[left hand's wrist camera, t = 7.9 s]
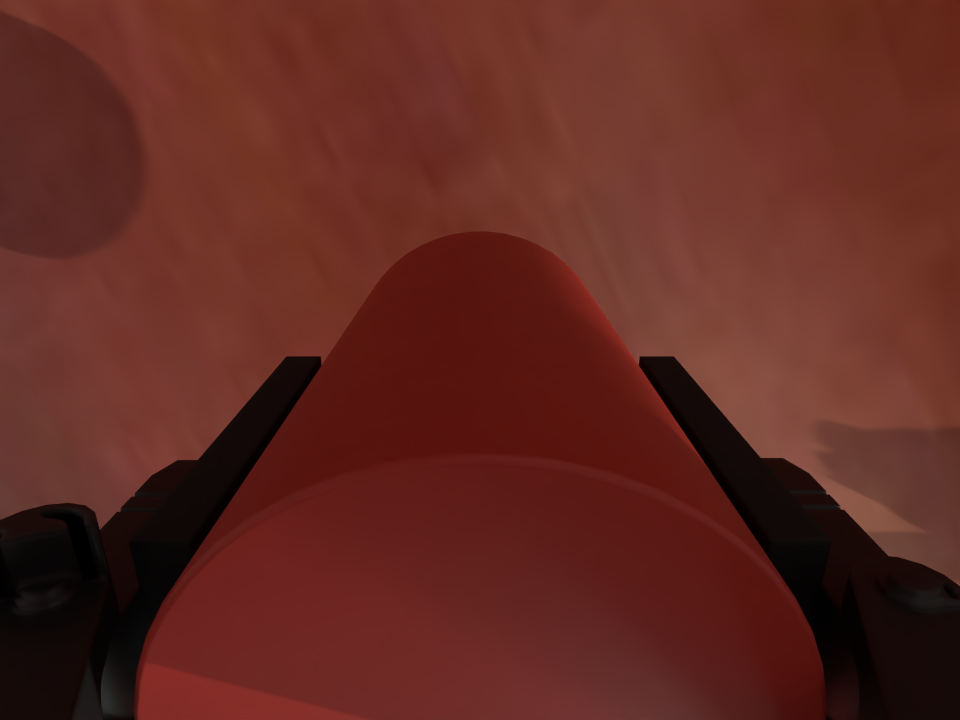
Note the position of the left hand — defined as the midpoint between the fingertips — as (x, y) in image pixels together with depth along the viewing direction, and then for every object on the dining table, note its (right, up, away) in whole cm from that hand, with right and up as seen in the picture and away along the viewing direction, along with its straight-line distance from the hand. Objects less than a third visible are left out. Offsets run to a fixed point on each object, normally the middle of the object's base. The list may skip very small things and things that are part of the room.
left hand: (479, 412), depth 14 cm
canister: (0, +1, +4) cm, 4 cm away
